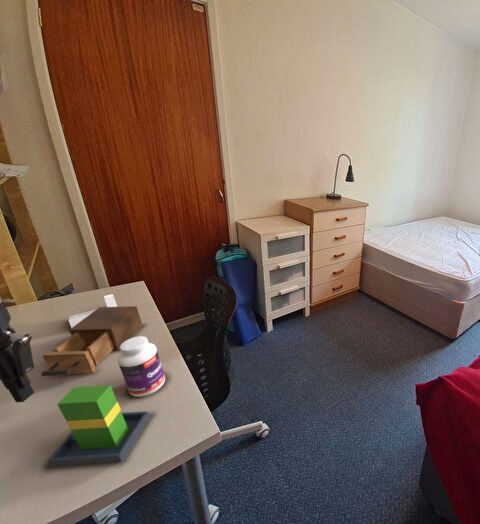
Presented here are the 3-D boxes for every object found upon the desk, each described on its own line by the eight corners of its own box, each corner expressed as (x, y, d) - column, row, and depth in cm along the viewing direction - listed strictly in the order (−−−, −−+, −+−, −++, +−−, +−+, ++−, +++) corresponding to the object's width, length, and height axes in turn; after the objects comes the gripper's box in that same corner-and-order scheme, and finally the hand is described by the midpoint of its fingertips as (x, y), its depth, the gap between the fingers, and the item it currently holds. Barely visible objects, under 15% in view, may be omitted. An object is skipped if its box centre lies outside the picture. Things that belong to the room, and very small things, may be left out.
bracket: (119, 312, 108) (112, 293, 106) (120, 315, 103) (113, 296, 101) (73, 325, 99) (65, 305, 98) (72, 330, 94) (64, 309, 93)
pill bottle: (157, 397, 72) (143, 352, 66) (123, 400, 71) (105, 355, 65) (171, 373, 79) (159, 331, 74) (139, 376, 78) (125, 334, 72)
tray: (51, 468, 56) (47, 461, 55) (89, 421, 65) (86, 414, 64) (122, 462, 57) (119, 455, 56) (150, 418, 67) (147, 411, 66)
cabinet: (119, 351, 87) (111, 328, 84) (78, 353, 86) (68, 330, 82) (143, 327, 98) (136, 306, 95) (107, 328, 97) (99, 307, 94)
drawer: (81, 384, 74) (72, 364, 71) (37, 387, 73) (26, 366, 70) (120, 345, 88) (114, 327, 85) (84, 346, 87) (76, 328, 84)
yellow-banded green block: (80, 450, 59) (56, 404, 54) (95, 431, 63) (73, 387, 57) (117, 447, 60) (96, 401, 54) (129, 429, 63) (111, 385, 58)
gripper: (29, 299, 60) (69, 382, 69) (-40, 301, 58) (10, 385, 67) (-9, 320, 53) (41, 409, 62) (-89, 322, 51) (-25, 413, 61)
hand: (25, 397), depth 65 cm, fingers closed
